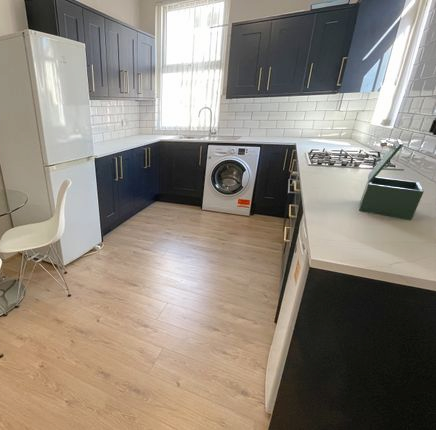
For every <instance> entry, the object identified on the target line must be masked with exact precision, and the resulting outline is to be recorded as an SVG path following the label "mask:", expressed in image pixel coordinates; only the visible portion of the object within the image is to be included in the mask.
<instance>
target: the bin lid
mask: <svg viewBox="0 0 436 430" xmlns="http://www.w3.org/2000/svg"><path fill="white" fill-rule="evenodd" d="M379 146H380V147H381V148H385V147H386V148H389V149H388V151H387V152H386V153H385V154H384V156H383V157H382V158H381V159H380V161H379V162H378V163H377V164H376V165H375V166H374V168H372V170H370V172H369V173H368V175H367V181H368V183H371V182H372V180H373V179H374V178H375V177H378V175H379V174H380V173H381V171H383V169H384V168H385V167H386V166H387V165H388V163H389V162H390V161H391V160H392V159H393V158H394V156H395V155H396V154H397V153H398V152H399V151H400V149H402V147H403V146H404V143H403V142H402V140H400V139H397V140H396V141H395V143H394V144H391V143H388V142H387V140H381V141H379Z"/></svg>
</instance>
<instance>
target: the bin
mask: <svg viewBox="0 0 436 430" xmlns="http://www.w3.org/2000/svg"><path fill="white" fill-rule="evenodd" d="M423 195H424V189H423V187H422V186H421V184H420V182H419V181H418V182H417V181H411V180H403V179H395V178H387V177H379V176H376V177H375V178H374V179H373V180H372V182H371V183H368V180H367V181H366V183H365V186H364V189H363V193H362V195H361V198H360V201H359V208H358V211H359V212H364V213H370V214H375V215H381V216H385V217H392V218H397V219H403V220H407V221H412V220H413V218H414V215H415V213H416V211H417V209H418V206H419V204H420V202H421V199H422V196H423Z"/></svg>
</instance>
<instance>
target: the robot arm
mask: <svg viewBox="0 0 436 430" xmlns="http://www.w3.org/2000/svg"><path fill="white" fill-rule="evenodd" d="M434 111H435V114H436V110H434ZM428 132H429V133H430V134H432V135H433V136H436V116H435V117H434V119H433V120H432V122H431V125H430V128H429V130H428Z"/></svg>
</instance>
